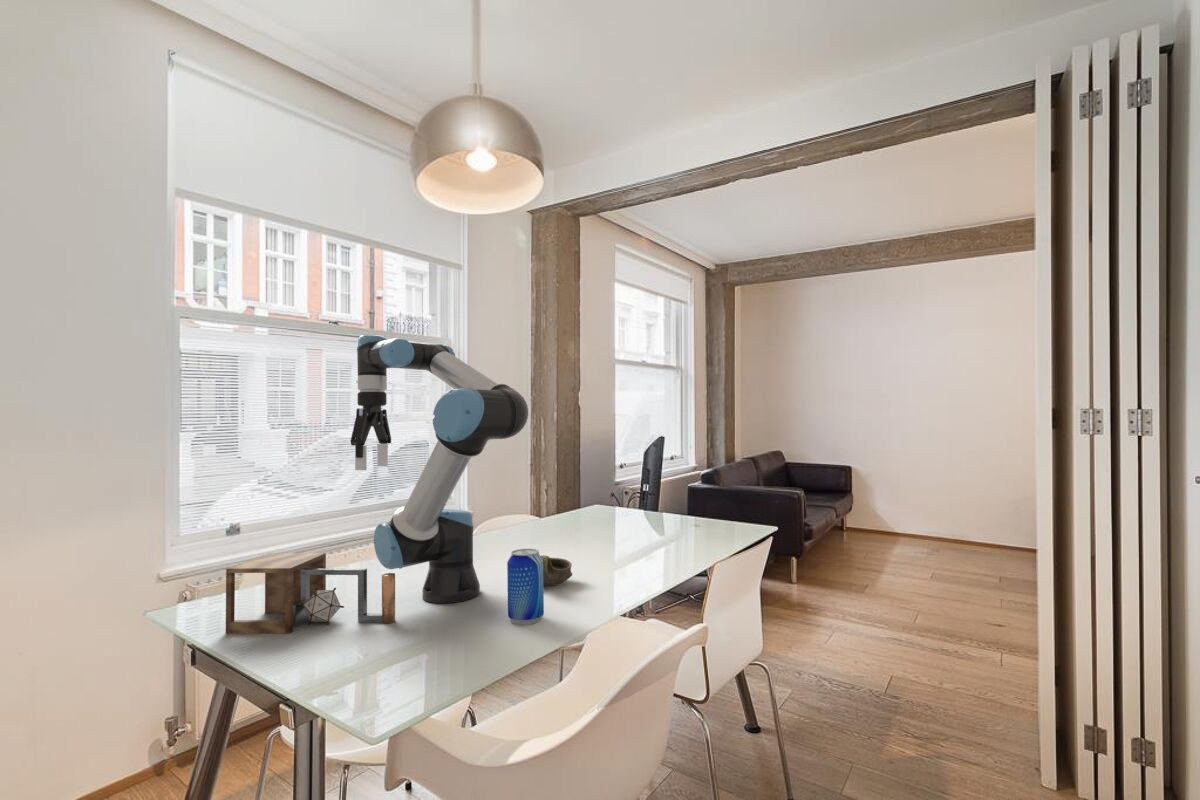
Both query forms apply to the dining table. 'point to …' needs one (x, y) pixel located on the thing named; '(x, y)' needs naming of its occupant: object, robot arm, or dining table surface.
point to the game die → (322, 605)
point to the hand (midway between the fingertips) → (372, 468)
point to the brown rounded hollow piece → (555, 570)
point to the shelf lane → (274, 589)
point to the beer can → (525, 586)
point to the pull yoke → (363, 616)
